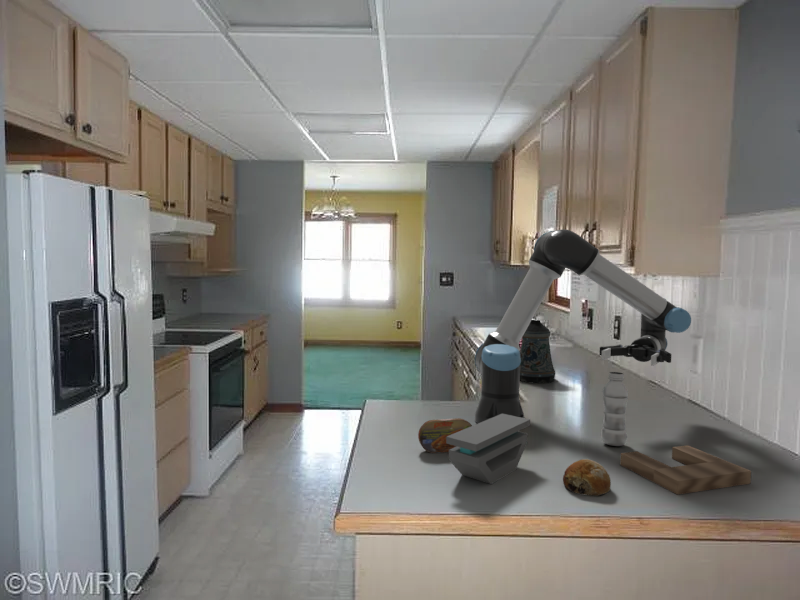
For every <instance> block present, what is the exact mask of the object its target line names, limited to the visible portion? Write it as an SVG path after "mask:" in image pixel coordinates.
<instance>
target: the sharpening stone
mask: <svg viewBox="0 0 800 600" xmlns="http://www.w3.org/2000/svg"><path fill="white" fill-rule="evenodd" d="M530 425H531V418H525V417H524V418H521V417H516V416H512V415H507V414H500V415H497V416H495V417H493V418H490V419H488V420H485V421H483V422H480V423H476V424H473V425H472V426H471V427H468V428H466V429H464V430H461V431H459V432H456V433H454V434H451V435H449V436H447V437H446V443H447V444H450V445H454V446H456V447H454V448H452V449H450V450H449V452H448V460H449V461H450V462H451V464H452V465H453V466H454V467H455V468H456V470H457V471H458V472H459V473H460V474H461V476H463V477H467V478H471V479H473V480H477V481H480V482H484V483H485V484H490V485H492V484H494V483H496V482H498V481H499V480H501V479H502V478H504V477H506V476H508V475H509V474H511V473H513V472H515V471H516V470H517V468H518V466H519V463H520V461H521V459H522V456H523V453H524V451H525V448H526V446H527V444H528V433H527V432H522V431H521V430H523V429H526V428H528V427H530Z"/></svg>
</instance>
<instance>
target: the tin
mask: <svg viewBox="0 0 800 600" xmlns="http://www.w3.org/2000/svg"><path fill="white" fill-rule="evenodd" d="M471 426H473V425H472V424H471V422H469V421H467V420H465V419H463V418H444V419H430V420H427V421H425V422H424V423H423V424H422V425H421V426H420V428H419V431H418V432H417V433H418V434H417V435H418V441H419V444H420V446H421V447H422V448H423V450H425V451H426V452H428V453H431V454H437V453H436V452H441V453H449V450H450V449H452V448H454V447H456V446H454V445H450V444H447V443H446V437H447V436H449V435H451V434H454V433H456V432H459V431H461V430H464V429H466V428H468V427H471Z"/></svg>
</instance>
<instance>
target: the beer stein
mask: <svg viewBox="0 0 800 600" xmlns="http://www.w3.org/2000/svg"><path fill="white" fill-rule="evenodd" d="M550 336H551V331H550V329H549V328H548V327H547V326H546V325H544V324H543V323H542V322H541V320H539V319H532V320H531V322H530V324H529V326H528V327H527V329H526V331H525V333H524V335H523V336H522V338H521V345H520V358H521V363H520V380H521V381H520V382H524V381H526V382H525V383H529V382H533V383H532V384H547V383H548V384H549V382H550V383H552V382H554V381H555V377H556V370H555V367H554V363H553V361H552V355H551V346H550V345H551V343H550Z"/></svg>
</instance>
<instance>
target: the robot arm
mask: <svg viewBox="0 0 800 600" xmlns="http://www.w3.org/2000/svg"><path fill="white" fill-rule="evenodd" d="M528 264H529V269H528V271H527V273H526V275H525V277H524V278H523V280H522V282H521V284H520V286H519V288H518V290H517V291H516V293H515V295H514V297H513V299H512V300H511V303H510V304H509V306H508V308H507V310H506V311H505V313H504V315H503V317H502V319H501V321H500V322H499V325H497V328H496V329H495V331H492V332H489V333H488V335H487V336H486V338H485V340H484V342H483V343H481V345H479V347H478V348H477V349H476V352H475V355H474V364H475V366H476V370H477V371H478V372H479V373H480V374H481V385H480V386H481V388H480V389H481V392H480V399H479V401H478V405H477V406H476V410H475V413H474V421H475V423H476V424H478V423H480V422H483V421H485V420H488V419H490V418H493V417H495V416H497V415H500V414H507V415H512V416H516V417H521V418H525V414H524V411H523V406H522V404H521V400H520V382H521V381H520V363H521V358H520V352H521V346H520V344H519V343H520V342H521V341H522V336H523V335H524V333H525V331H526V329H527V327H528V326H529V324H530V322H531V320H533V319H534V316H535V315H536V313H537V311H538V309H539V307H540V305H541V304H542V302H543V300H544V298H545V296H546V294H547V293H548V291H549V290H550V288H551V286H552V284H553V282H554V280H556V279H560V278H561V277H562V276H563V274H564V272H565V270H566V269H567V270H570V271H572V272H574V273H575V274H577V275H578V276H585V277H587V278H588V279H590V280H591V281H593V282H594V283H596V284H598V285H599V286H600V287H601V288H603V289H605V290H606V291H608V292H609V293H611V294H612V295H614V296H615V297H616V298H618V299H619V300H621V301H623V302H624V303H625V304H627V305H628V306H630V307H631V308H633V309H634V310H636V311H637V312H639V313H640V314H641V315H640V317H641V318H640V337H639V338H636V339H634V340H633V341H632V342H631V344H629V345H626V344H625V345H624V346H623V344H615V345H606V346H600V347H599V356H600V357H601V361H605V360H608V359H610V358H611V357H623V356H624V357H626V358H633V359H634V360H636V361H638V362H641V363H646V362H649V361H650V366H653V367H655V366H656V365H657V364H658V363H664V362H666V363H668V364H670V363H672V353H670V352H669V351H667V350H666V349H667V347H668V340H667V337H666V332H669V333H673V334H674V333H676V334H677V333H679V334H680V333H683V332H685V331H687V330H688V329H689V328H690V326H691V324H692V317H691V314H690V312H689V311H687V310H686V309H684V308H682V307H677V306H675V305H674V304H673V303H671V302H670V301H668V300H667V299H666V298H664V297H662V296H661V295H659V294H658V293H657V292H655V291H654V290H652V289H651V288H649V287H648V286H647V285H646V284H643V283H642V282H640V281H639V280H638V279H636V278H635V277H633V276H632V275H630V274H629V273H628V272H626V271H624V270H623V269H622V268H621V267H619V266H617V265H616V264H614V263H613V262H611V261H610V260H608V259H607V258H606V257H604V256H602V255H601V254H600V250H599V248H597V247H596V246H594V245H593V244H591V243H590V242H589V241H587V240H586V239H585V238H583V237H582V236H580V235H579V234H577V232H575V231H573V230H570V229H565V228H562V229H556V230H549V231H546V232H544V233H542V235H540V236H539V237H538V238H537V240H536V241H535V243H534V246H533V252H532V254H531V256H530V258H529V259H528Z"/></svg>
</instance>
